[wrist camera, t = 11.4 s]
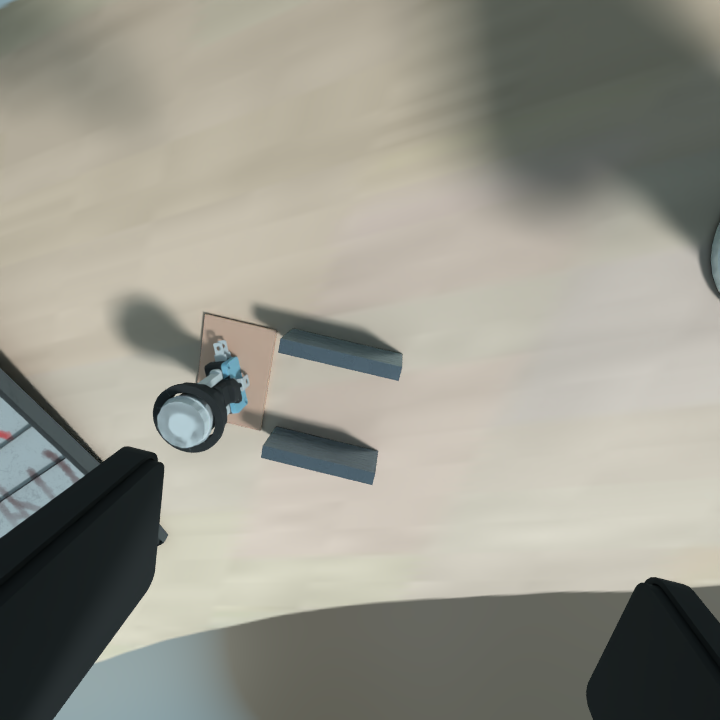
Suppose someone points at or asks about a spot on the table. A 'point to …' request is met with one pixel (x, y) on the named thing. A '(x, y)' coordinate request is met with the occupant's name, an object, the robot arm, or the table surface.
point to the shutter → (35, 457)
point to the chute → (317, 449)
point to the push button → (202, 404)
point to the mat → (242, 361)
